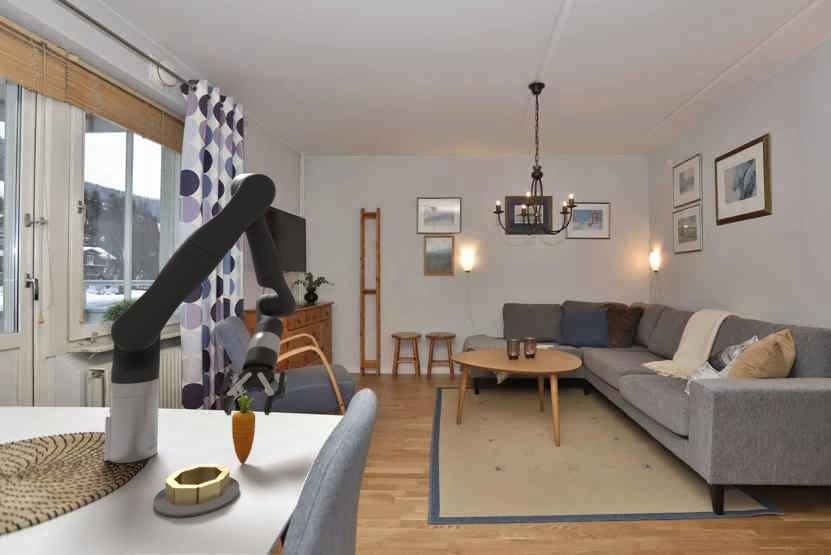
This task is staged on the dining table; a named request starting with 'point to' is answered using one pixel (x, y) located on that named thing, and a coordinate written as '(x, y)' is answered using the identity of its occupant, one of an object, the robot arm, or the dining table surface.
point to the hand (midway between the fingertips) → (247, 413)
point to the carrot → (243, 429)
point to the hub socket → (196, 491)
